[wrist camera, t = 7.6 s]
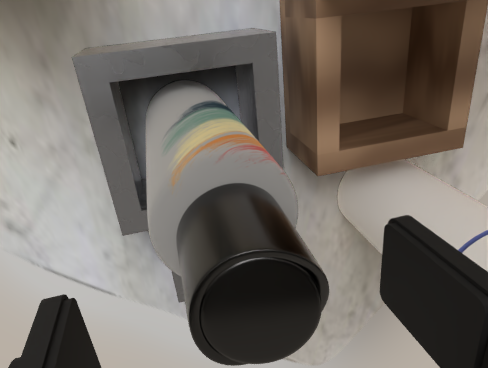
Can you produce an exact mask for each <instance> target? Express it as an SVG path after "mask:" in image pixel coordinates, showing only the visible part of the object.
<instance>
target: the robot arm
mask: <svg viewBox="0 0 488 368" xmlns="http://www.w3.org/2000/svg"><path fill="white" fill-rule="evenodd" d="M380 295H381V298H382V300H383V301H384V303H385V304H386V305H387V306H388V307H389V309H390V310H391V311H392V312H393V313H394V314H395V316H396V317H397V318H398V319H399V320H400V321H401V323H402V324H403V325H404V326H405V327H406V328H407V330H408V331H409V332H410V333H411V334H412V335H413V337H414V338H415V339H416V340H417V341H418V342H419V344H420V345H421V346H422V347H423V348H424V349H425V351H426V352H427V353H428V354H429V355H430V356H431V358H432V359H433V360H434V361H435V362H436V363H437V365H438V366H439V367H440V368H488V272H487V271H486V270H485V269H483V268H482V267H480V266H479V265H478V264H476V263H475V262H474V261H472V260H471V259H469V258H468V257H467V256H465V255H464V254H463V253H461V252H460V251H458V250H457V249H456V248H454V247H453V246H452V245H450V244H449V243H447V242H446V241H445V240H443V239H442V238H441V237H439V236H438V235H436V234H435V233H434V232H432V231H431V230H430V229H428V228H427V227H425V226H424V225H423V224H421V223H420V222H419V221H417V220H416V219H414V218H413V217H412V216H410V215H404V216H400V217H396V218H391V219H390V220H389V221H388V224H386V225H385V227H384V237H383V251H382V266H381V281H380ZM8 368H101V365H100V363H99V360H98V357H97V355H96V352H95V349H94V347H93V344H92V341H91V339H90V336H89V333H88V331H87V328H86V325H85V323H84V320H83V317H82V315H81V312H80V309H79V307H78V304H77V301H76V300H75V298H71V299H68V297H67V295H60V296H56V297H51V298H47V299H43V300H42V301H41V303H40V305H39V308H38V311H37V314H36V317H35V319H34V322H33V325H32V327H31V331H30V333H29V336H28V339H27V341H26V345H25V347H24V350H23V353H22V355H21V357H20V358H15V359H14V360H13V361H12V362H11V364H10V365H9V367H8Z"/></svg>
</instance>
